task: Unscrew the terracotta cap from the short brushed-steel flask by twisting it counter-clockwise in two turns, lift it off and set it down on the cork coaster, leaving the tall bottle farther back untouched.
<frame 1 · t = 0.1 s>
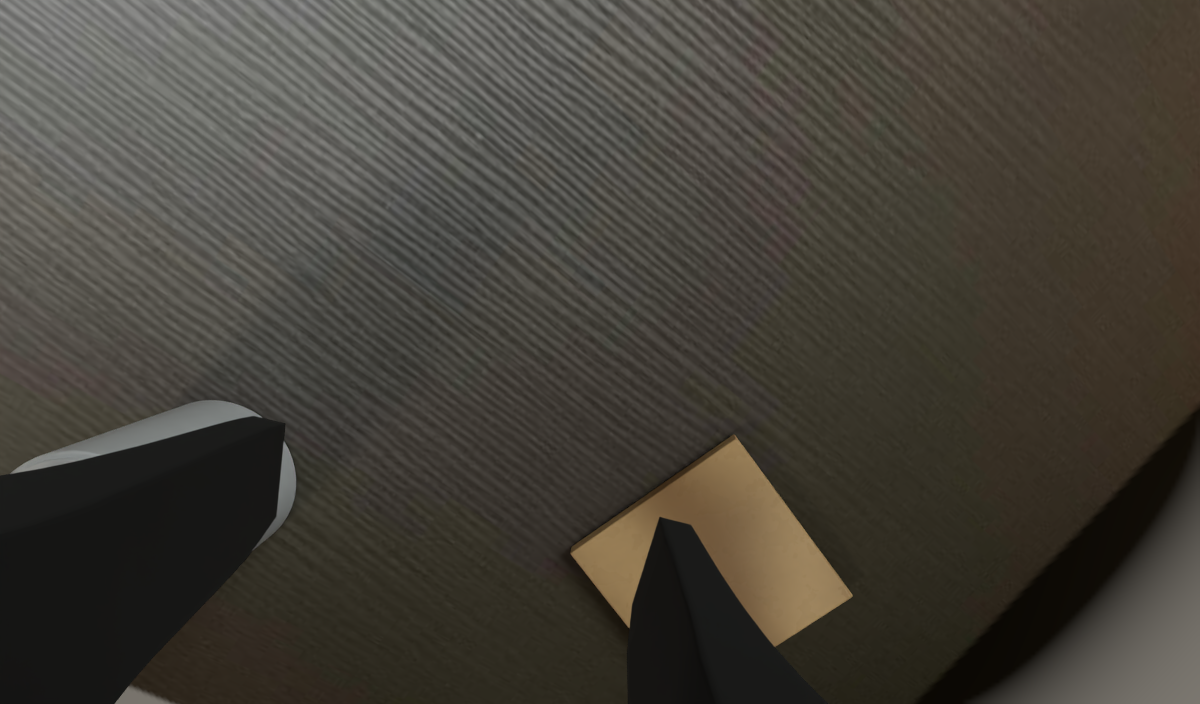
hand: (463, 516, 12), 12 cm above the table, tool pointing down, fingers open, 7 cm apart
flask: (220, 475, 25), on the table
coaster: (709, 567, 25), on the table
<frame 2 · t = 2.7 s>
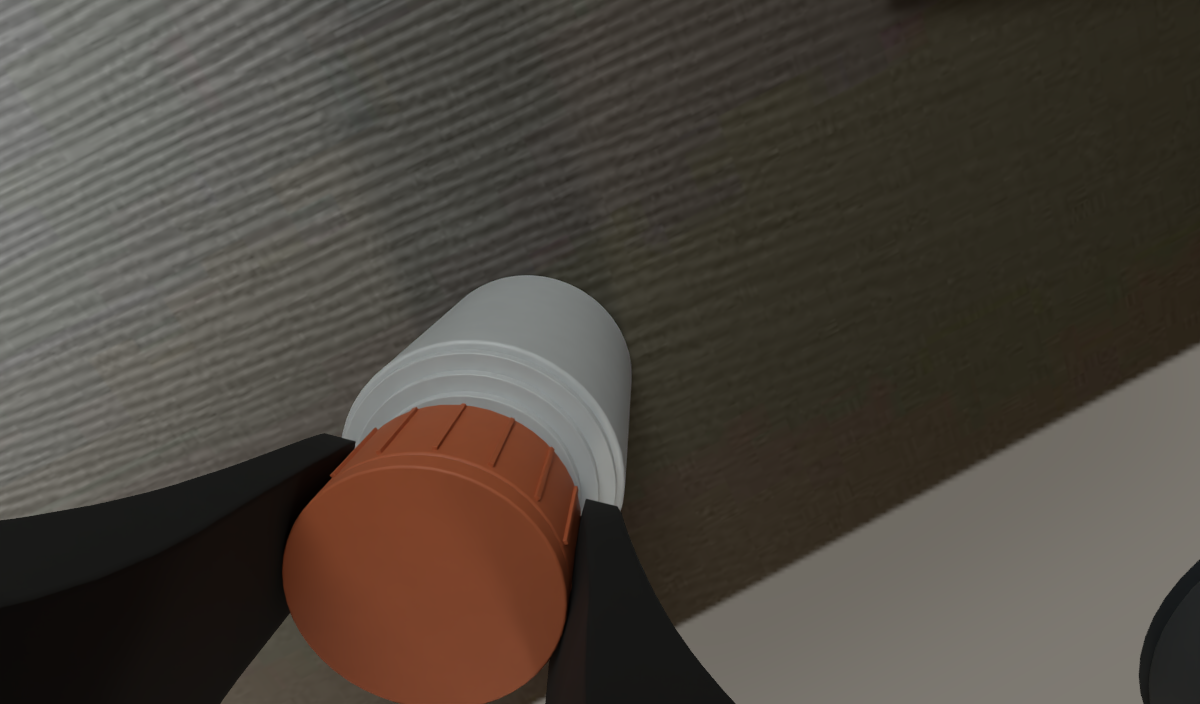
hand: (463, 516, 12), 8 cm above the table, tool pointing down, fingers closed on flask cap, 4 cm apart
flask: (532, 373, 20), on the table
flask cap: (430, 579, 11), point 10 cm above the table, screwed on, not yet turned, touching gripper
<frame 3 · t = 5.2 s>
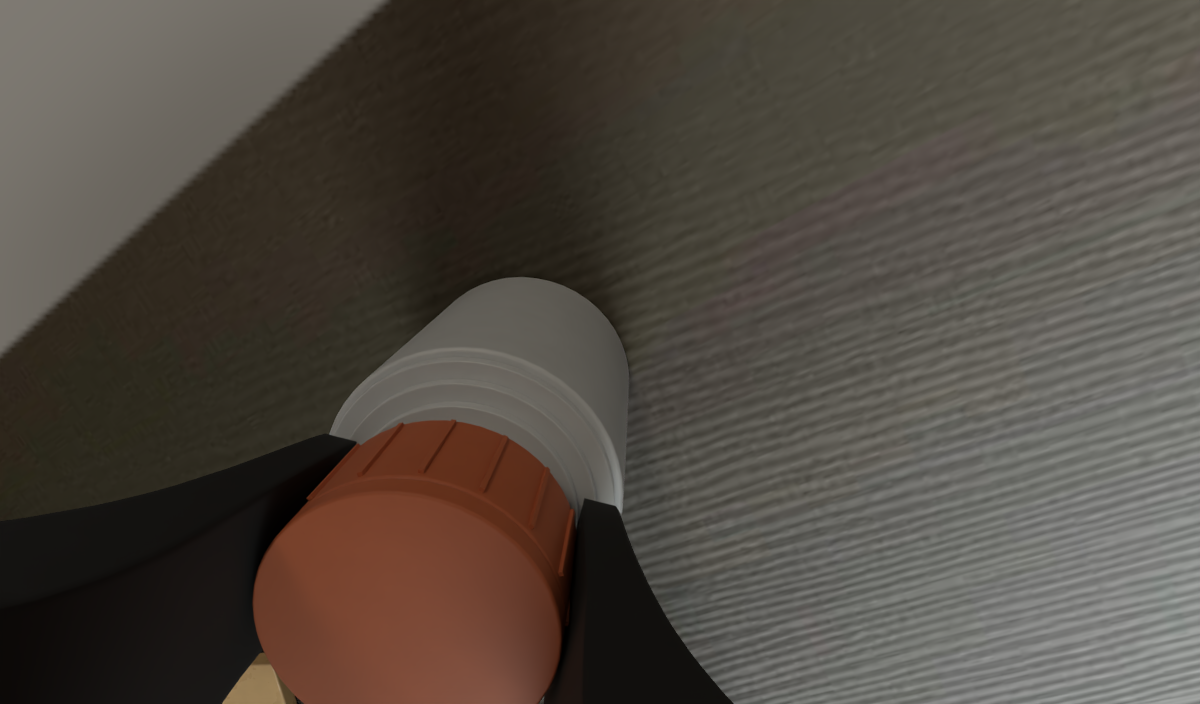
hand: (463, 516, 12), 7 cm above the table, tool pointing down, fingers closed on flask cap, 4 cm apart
flask: (526, 378, 19), on the table, touching gripper
flask cap: (414, 611, 10), point 10 cm above the table, turned 170° so far, risen 0.1 cm, still on its thread, touching gripper
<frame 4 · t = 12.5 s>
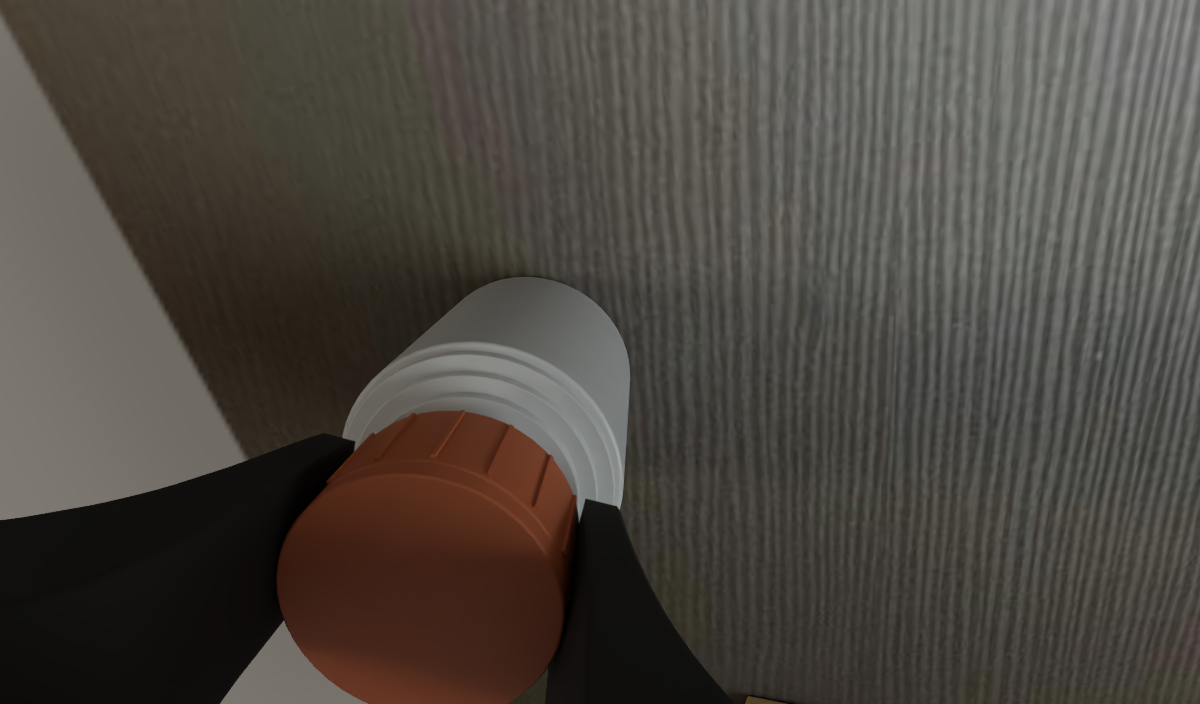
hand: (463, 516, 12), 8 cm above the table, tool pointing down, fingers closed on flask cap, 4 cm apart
flask: (530, 374, 20), on the table
flask cap: (426, 588, 10), point 10 cm above the table, turned 268° so far, risen 0.2 cm, still on its thread, touching gripper
when the fingers open (2 cm above the table, at t = 26.9 s): flask cap drops 2 cm, resting on coaster.
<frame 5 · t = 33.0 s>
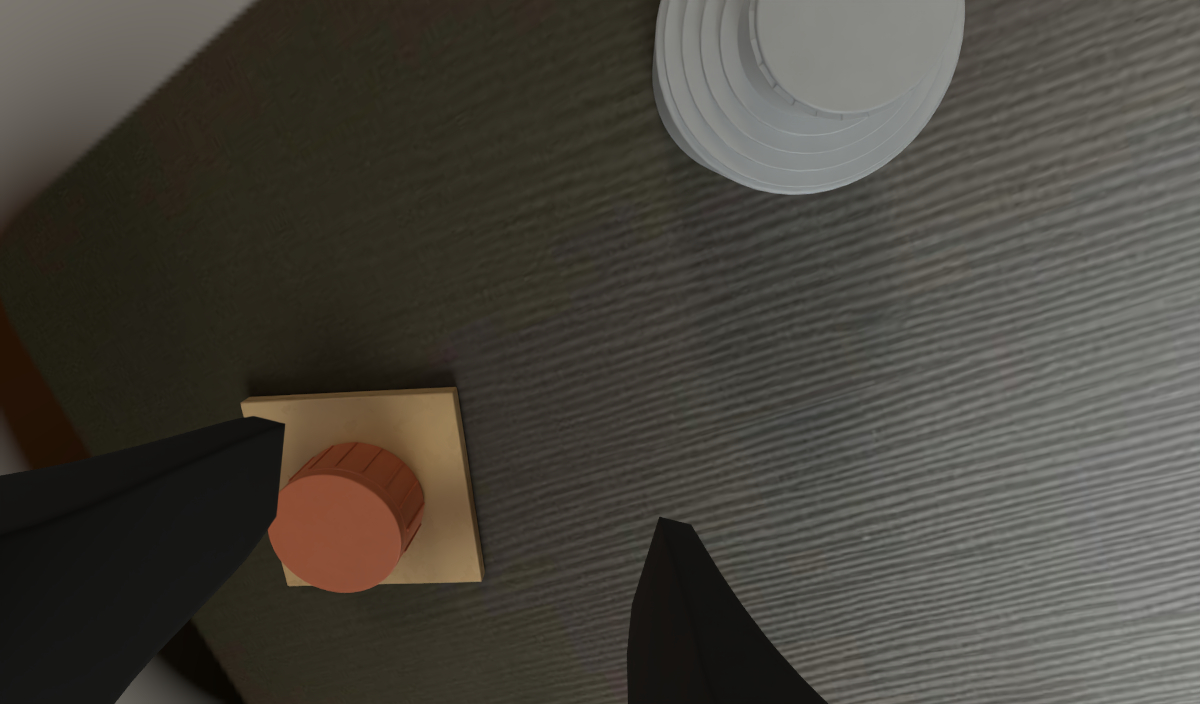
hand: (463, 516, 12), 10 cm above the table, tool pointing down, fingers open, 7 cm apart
flask: (755, 71, 19), on the table
flask cap: (339, 528, 22), point 3 cm above the table, off its thread, touching coaster
coaster: (371, 487, 24), on the table
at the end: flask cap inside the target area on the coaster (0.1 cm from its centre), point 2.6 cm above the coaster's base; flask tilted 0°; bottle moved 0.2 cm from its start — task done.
